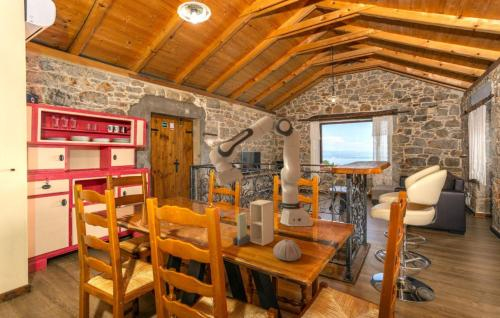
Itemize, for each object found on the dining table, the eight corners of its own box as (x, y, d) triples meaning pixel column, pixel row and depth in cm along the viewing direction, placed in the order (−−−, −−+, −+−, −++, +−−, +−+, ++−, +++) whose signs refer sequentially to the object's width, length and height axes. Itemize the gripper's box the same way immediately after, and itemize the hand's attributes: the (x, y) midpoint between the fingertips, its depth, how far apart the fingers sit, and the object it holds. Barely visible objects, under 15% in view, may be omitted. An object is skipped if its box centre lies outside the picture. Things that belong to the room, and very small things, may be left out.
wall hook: (223, 218, 185) (219, 205, 185) (210, 221, 187) (206, 208, 188) (226, 215, 193) (223, 203, 193) (213, 218, 195) (210, 205, 195)
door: (236, 243, 138) (235, 214, 137) (244, 240, 142) (243, 211, 142) (240, 244, 136) (239, 215, 135) (247, 241, 141) (247, 212, 140)
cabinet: (232, 244, 136) (232, 203, 135) (255, 235, 150) (254, 198, 149) (252, 250, 127) (251, 207, 126) (274, 240, 141) (273, 201, 141)
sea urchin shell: (284, 249, 129) (284, 233, 129) (307, 256, 120) (307, 240, 119) (267, 257, 119) (267, 240, 119) (291, 266, 110) (291, 248, 110)
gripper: (214, 170, 157) (226, 188, 153) (237, 164, 173) (248, 181, 168) (210, 176, 161) (221, 194, 157) (233, 170, 176) (243, 186, 172)
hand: (235, 187), depth 162 cm, fingers open, 8 cm apart
